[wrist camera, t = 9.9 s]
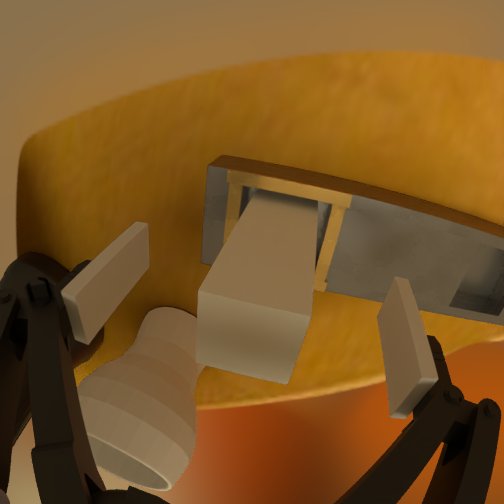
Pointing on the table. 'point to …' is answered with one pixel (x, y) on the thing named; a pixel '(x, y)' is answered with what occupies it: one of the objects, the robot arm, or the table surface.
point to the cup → (146, 403)
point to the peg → (260, 289)
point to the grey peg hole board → (372, 238)
